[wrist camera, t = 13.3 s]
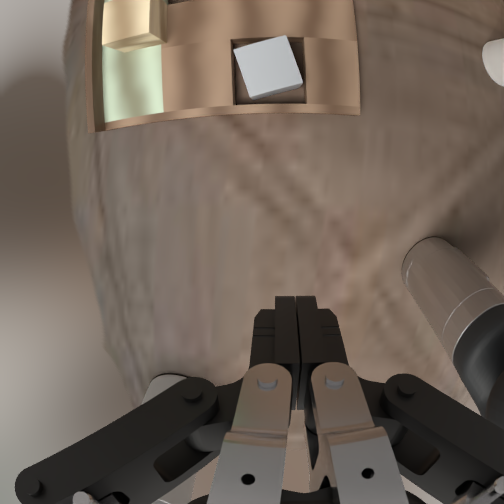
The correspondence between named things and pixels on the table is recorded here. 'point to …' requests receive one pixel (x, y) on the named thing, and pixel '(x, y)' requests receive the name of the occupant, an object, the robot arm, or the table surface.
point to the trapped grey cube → (268, 67)
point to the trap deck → (219, 61)
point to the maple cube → (134, 24)
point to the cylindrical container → (494, 60)
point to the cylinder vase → (181, 495)
